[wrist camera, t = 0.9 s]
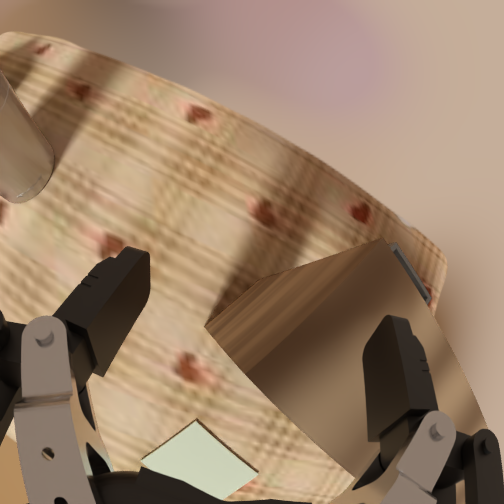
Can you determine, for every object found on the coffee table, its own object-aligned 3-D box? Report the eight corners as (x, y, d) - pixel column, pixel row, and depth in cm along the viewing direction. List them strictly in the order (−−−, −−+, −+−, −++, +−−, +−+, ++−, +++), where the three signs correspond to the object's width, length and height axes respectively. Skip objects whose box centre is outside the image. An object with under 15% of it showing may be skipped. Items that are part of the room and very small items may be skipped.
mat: (140, 459, 26) (140, 461, 26) (195, 420, 29) (195, 421, 29) (205, 508, 27) (205, 510, 26) (258, 473, 29) (258, 474, 29)
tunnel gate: (204, 326, 31) (244, 374, 10) (259, 279, 33) (382, 237, 12) (337, 461, 31) (446, 542, 10) (377, 419, 34) (502, 471, 12)
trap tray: (355, 279, 36) (365, 277, 34) (385, 245, 38) (395, 242, 36) (394, 334, 36) (405, 335, 34) (420, 299, 38) (431, 298, 36)
